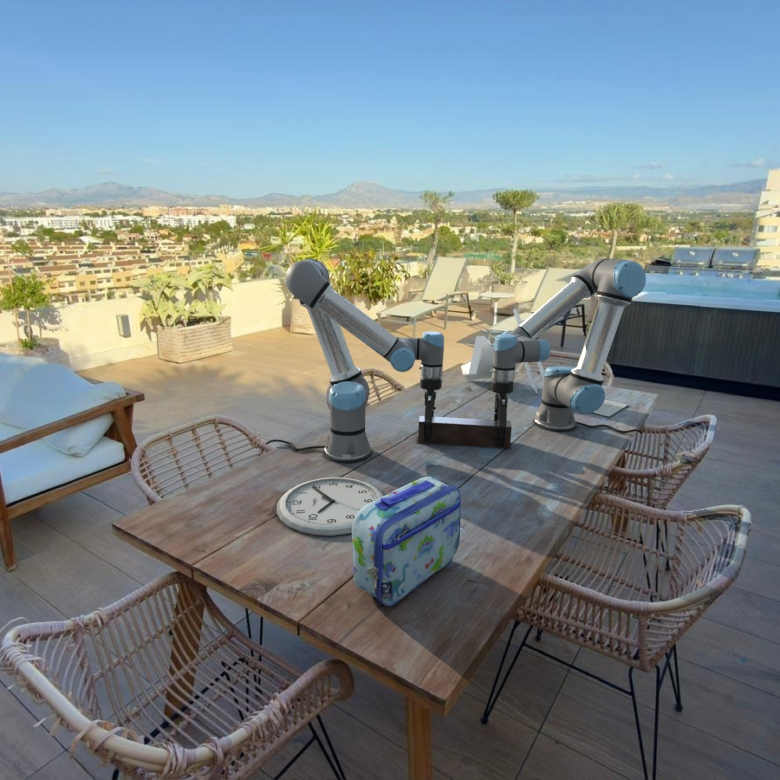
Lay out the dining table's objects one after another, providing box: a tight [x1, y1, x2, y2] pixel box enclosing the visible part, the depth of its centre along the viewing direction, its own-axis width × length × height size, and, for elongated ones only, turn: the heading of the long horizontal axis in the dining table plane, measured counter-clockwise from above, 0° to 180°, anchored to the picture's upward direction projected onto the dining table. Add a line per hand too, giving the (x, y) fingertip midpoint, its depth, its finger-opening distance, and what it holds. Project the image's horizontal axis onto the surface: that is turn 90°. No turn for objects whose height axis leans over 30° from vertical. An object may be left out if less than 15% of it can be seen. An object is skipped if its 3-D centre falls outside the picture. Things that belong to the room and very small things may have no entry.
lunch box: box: [351, 476, 462, 607], centre depth 111 cm, size 26×11×21 cm, turn 135°
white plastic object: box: [460, 308, 545, 394], centre depth 253 cm, size 37×45×31 cm
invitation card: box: [592, 398, 629, 418], centre depth 226 cm, size 21×1×15 cm
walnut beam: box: [417, 415, 513, 449], centre depth 185 cm, size 32×6×8 cm, turn 83°
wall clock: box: [276, 476, 385, 537], centre depth 142 cm, size 30×2×30 cm
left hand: (428, 433), depth 187 cm, fingers open, 13 cm apart
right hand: (498, 437), depth 184 cm, fingers open, 13 cm apart
